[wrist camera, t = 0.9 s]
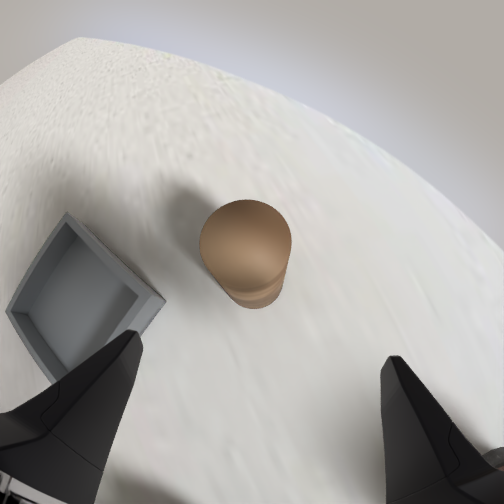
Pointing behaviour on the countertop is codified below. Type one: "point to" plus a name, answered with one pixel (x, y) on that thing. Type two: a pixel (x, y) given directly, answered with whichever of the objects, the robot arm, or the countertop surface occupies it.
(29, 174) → the countertop surface
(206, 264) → the walnut cylinder
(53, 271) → the tote
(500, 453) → the tankard
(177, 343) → the countertop surface
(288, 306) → the countertop surface
